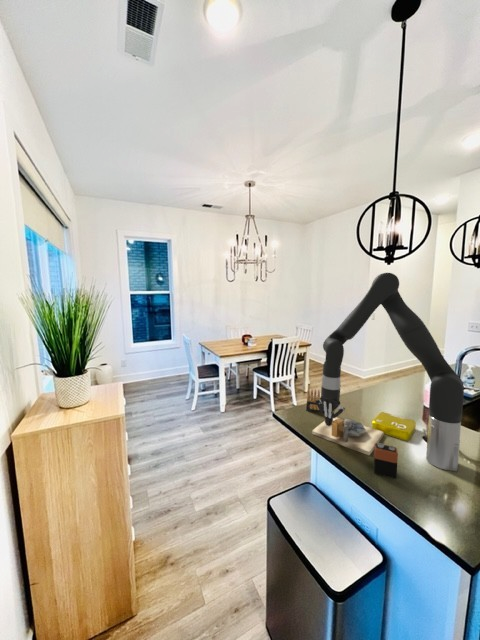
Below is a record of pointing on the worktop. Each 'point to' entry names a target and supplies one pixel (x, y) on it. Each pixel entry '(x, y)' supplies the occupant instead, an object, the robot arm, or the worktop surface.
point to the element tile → (394, 426)
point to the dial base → (351, 437)
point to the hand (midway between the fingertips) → (328, 425)
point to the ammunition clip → (310, 403)
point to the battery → (385, 460)
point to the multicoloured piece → (354, 431)
